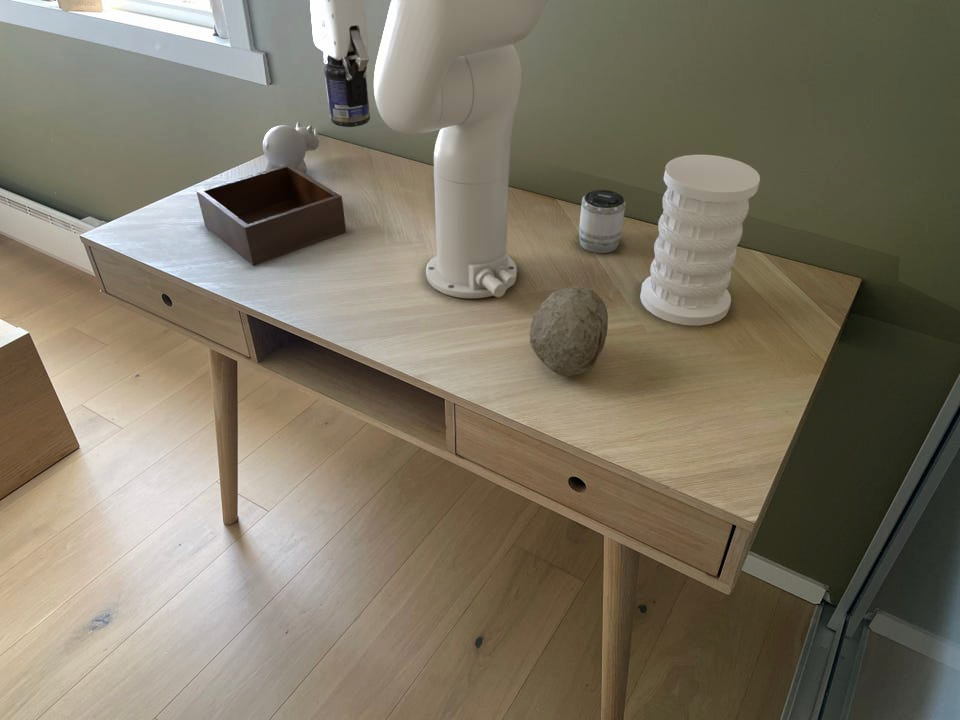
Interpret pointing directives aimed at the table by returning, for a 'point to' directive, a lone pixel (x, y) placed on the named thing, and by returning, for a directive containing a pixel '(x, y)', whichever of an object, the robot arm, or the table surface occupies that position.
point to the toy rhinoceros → (289, 146)
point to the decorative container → (698, 238)
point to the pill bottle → (342, 96)
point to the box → (272, 213)
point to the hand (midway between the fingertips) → (347, 97)
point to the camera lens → (601, 221)
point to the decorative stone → (570, 330)
